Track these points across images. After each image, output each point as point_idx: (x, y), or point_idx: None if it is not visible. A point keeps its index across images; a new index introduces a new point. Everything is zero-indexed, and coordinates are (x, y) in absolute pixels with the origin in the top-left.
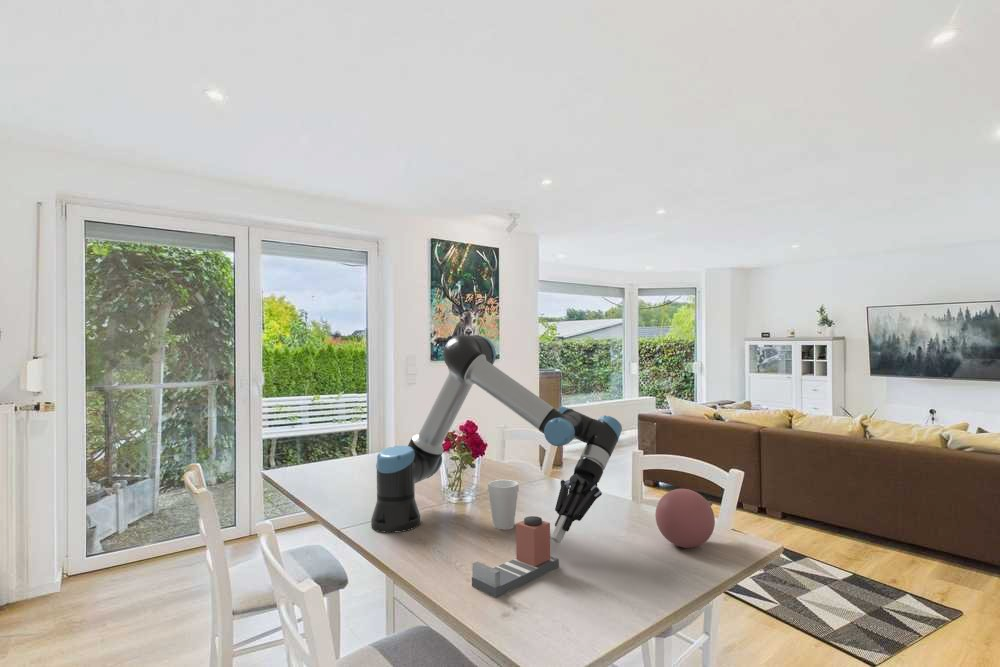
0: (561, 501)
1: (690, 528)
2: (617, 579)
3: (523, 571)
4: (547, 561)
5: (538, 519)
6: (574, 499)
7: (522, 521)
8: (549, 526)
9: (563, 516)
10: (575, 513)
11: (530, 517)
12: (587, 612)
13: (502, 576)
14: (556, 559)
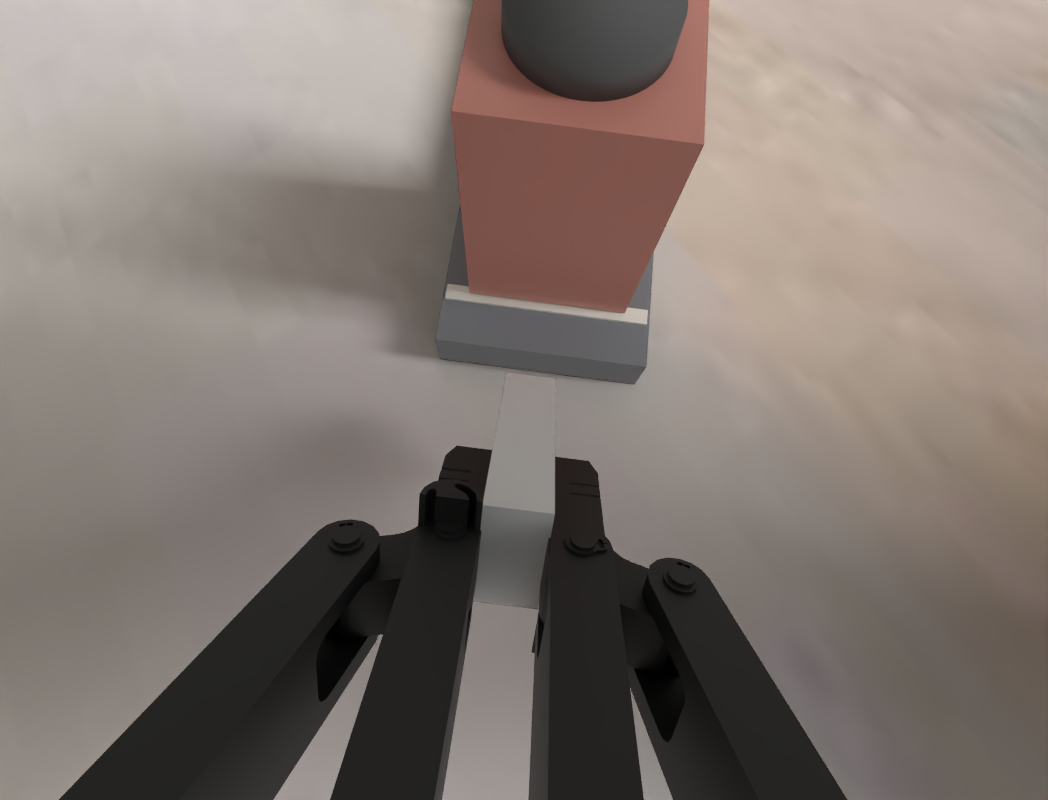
0: (707, 720)
1: None
2: (55, 412)
3: None
4: None
5: (542, 10)
6: (429, 768)
7: (698, 19)
8: (456, 130)
9: (515, 499)
10: (341, 534)
11: (649, 17)
12: (105, 52)
13: None
14: (443, 324)
